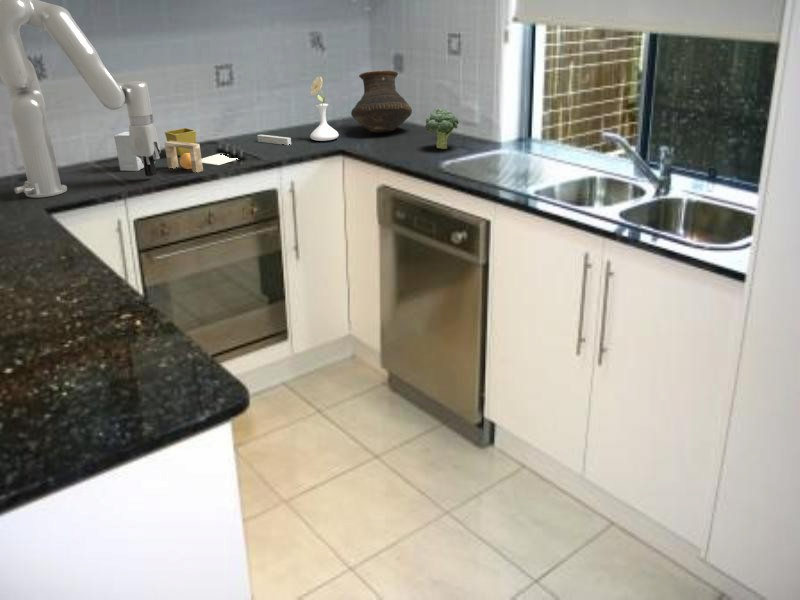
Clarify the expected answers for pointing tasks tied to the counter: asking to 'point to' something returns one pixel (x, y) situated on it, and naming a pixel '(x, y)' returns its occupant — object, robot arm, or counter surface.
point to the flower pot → (181, 138)
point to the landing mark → (217, 159)
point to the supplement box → (126, 154)
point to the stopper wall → (274, 139)
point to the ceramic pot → (380, 103)
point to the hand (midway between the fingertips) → (150, 175)
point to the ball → (186, 161)
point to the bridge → (194, 154)
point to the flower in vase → (322, 116)
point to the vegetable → (441, 125)
